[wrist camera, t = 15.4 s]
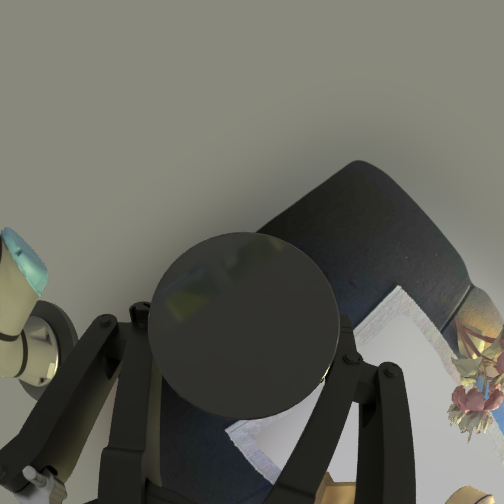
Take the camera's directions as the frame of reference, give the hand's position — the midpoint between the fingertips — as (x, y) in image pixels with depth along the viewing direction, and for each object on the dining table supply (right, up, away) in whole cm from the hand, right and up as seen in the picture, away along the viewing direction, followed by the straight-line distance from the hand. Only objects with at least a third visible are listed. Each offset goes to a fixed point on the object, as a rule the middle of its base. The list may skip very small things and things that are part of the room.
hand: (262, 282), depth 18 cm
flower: (+38, -21, +18) cm, 47 cm away
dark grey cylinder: (0, -5, +4) cm, 7 cm away
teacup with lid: (+44, -51, +7) cm, 67 cm away
